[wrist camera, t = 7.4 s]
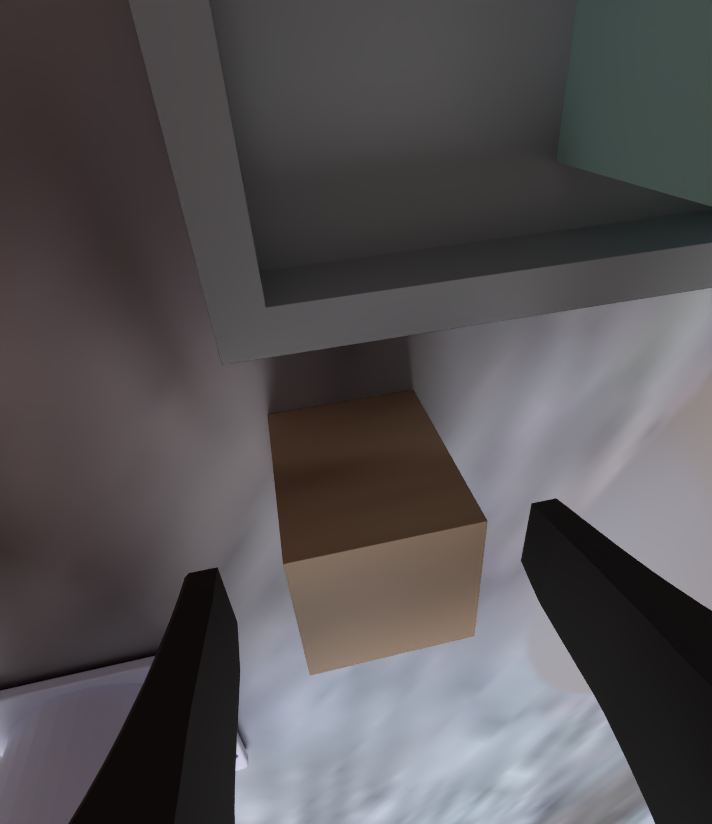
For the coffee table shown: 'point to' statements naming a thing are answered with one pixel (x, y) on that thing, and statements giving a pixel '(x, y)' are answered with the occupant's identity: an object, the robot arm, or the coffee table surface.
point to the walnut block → (374, 530)
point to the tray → (393, 171)
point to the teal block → (641, 95)
